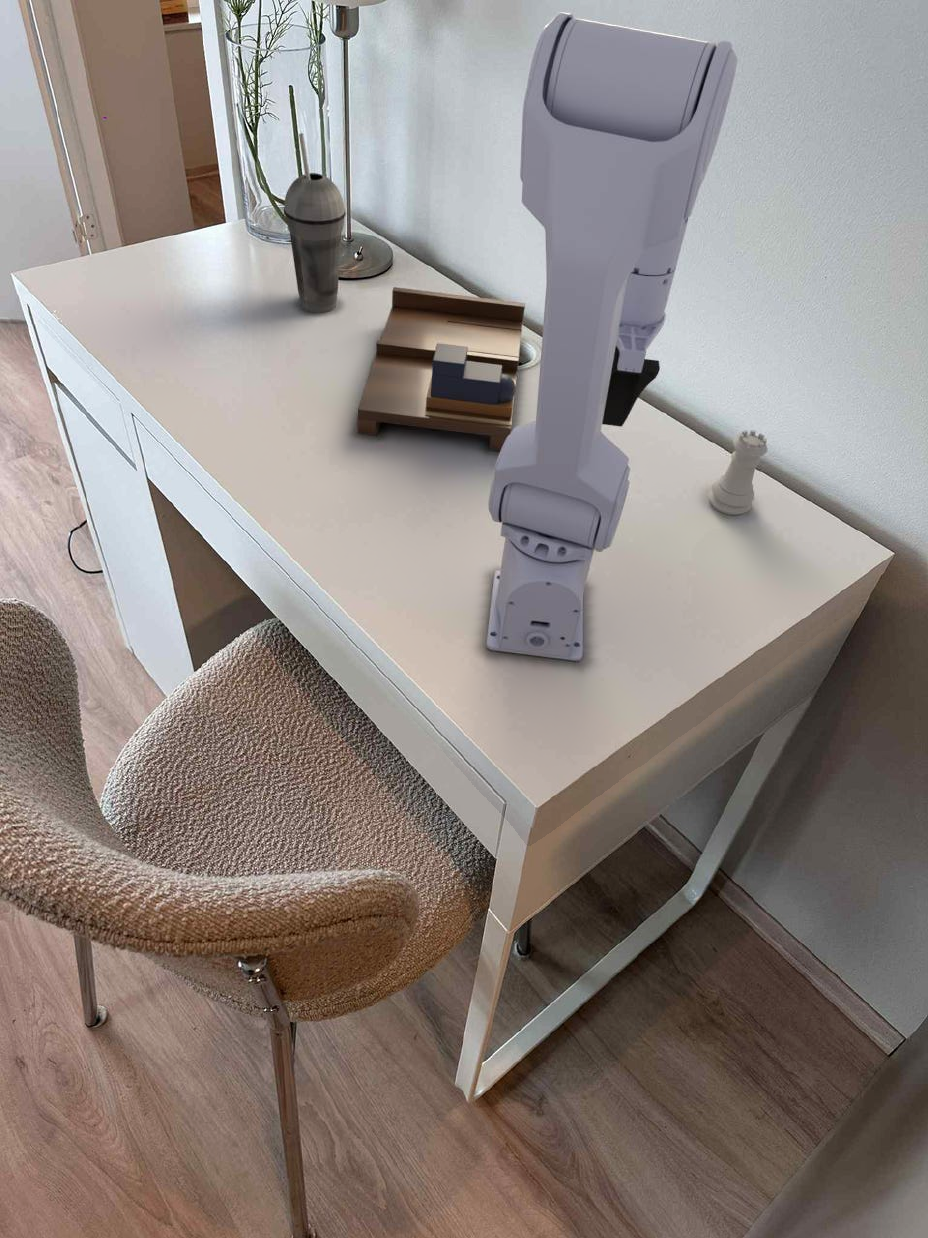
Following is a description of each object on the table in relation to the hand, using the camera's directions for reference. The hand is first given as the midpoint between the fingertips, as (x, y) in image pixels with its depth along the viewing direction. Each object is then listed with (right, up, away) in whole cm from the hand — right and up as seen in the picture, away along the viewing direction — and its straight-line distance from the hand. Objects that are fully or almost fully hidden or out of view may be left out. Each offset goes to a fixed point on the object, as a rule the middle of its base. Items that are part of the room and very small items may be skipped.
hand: (610, 400), depth 85 cm
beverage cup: (-32, +19, +28) cm, 47 cm away
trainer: (-13, +2, +10) cm, 17 cm away
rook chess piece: (+13, -9, +6) cm, 17 cm away
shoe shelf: (-16, +6, +17) cm, 25 cm away
